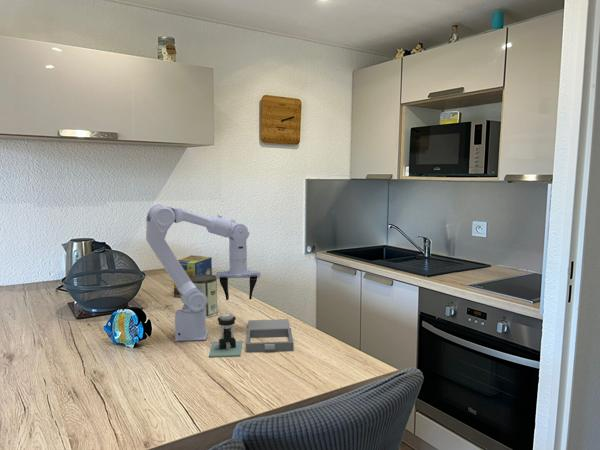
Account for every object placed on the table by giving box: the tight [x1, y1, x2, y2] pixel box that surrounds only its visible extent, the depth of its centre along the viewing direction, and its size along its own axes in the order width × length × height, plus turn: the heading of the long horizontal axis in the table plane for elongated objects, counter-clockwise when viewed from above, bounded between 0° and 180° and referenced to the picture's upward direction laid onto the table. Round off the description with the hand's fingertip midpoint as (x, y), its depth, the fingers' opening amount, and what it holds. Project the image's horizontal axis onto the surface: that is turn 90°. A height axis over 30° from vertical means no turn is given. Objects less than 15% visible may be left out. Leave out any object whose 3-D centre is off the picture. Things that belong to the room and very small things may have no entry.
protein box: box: [173, 255, 213, 298], centre depth 199 cm, size 10×15×16 cm
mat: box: [208, 340, 243, 358], centre depth 136 cm, size 9×11×1 cm
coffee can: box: [189, 274, 219, 319], centre depth 170 cm, size 10×10×14 cm
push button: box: [214, 312, 237, 349], centre depth 136 cm, size 7×5×10 cm
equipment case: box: [245, 318, 294, 353], centre depth 147 cm, size 14×27×2 cm, turn 5°
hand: (239, 298), depth 153 cm, fingers open, 7 cm apart
